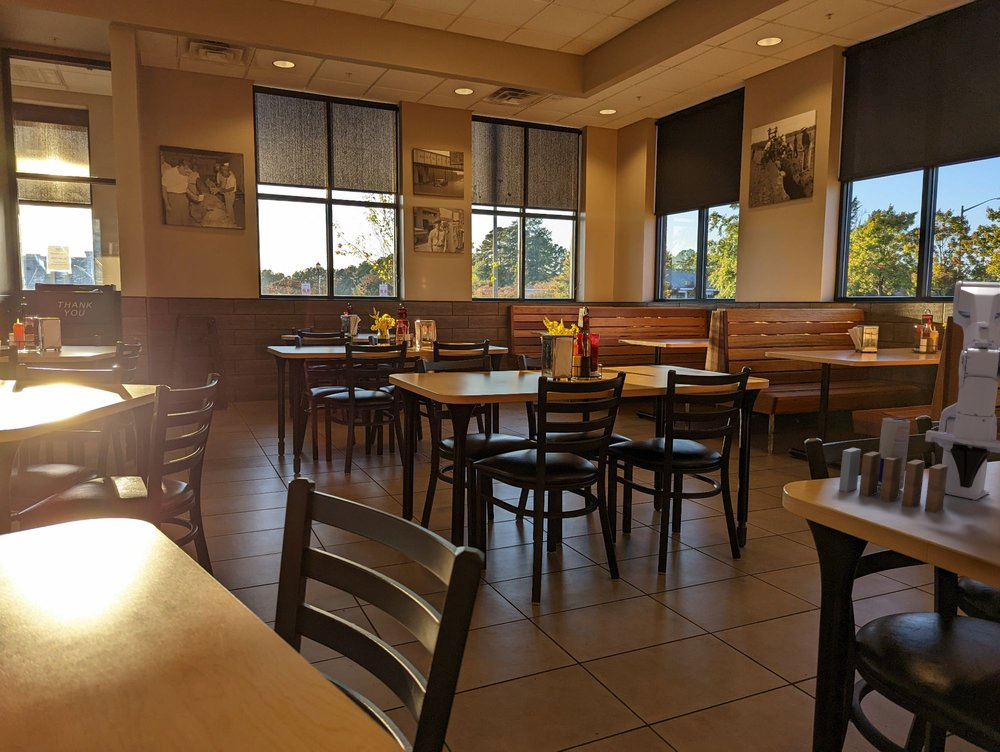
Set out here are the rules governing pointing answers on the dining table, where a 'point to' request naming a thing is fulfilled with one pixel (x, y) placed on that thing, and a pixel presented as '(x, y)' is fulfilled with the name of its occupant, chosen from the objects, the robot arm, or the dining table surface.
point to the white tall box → (894, 444)
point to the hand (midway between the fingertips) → (965, 486)
